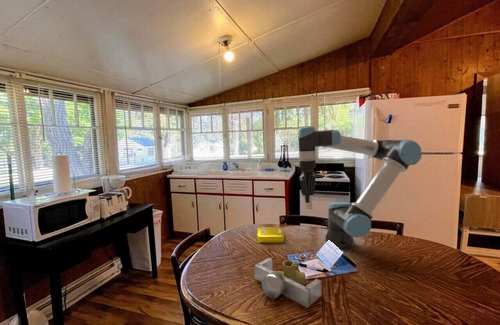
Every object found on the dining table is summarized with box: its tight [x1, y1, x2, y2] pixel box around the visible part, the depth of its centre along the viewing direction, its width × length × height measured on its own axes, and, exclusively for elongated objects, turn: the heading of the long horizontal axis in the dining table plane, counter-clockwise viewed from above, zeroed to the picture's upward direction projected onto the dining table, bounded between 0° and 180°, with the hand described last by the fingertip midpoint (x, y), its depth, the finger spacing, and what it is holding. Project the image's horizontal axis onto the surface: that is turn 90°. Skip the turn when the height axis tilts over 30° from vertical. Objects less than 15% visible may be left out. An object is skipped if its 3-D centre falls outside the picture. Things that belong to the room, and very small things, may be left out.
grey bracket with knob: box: [253, 257, 322, 309], centre depth 96 cm, size 14×26×8 cm, turn 43°
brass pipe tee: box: [273, 259, 306, 286], centre depth 102 cm, size 13×10×10 cm
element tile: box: [257, 226, 285, 244], centre depth 148 cm, size 15×15×5 cm
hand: (308, 208), depth 119 cm, fingers closed
